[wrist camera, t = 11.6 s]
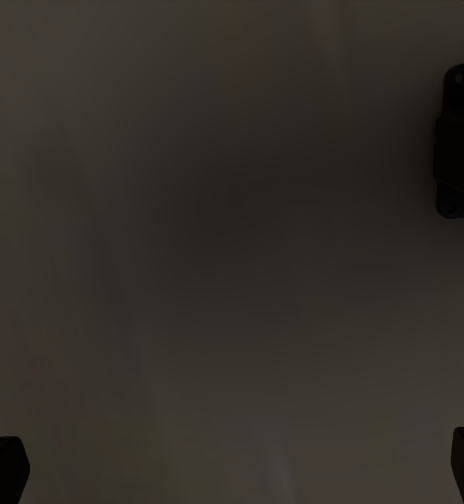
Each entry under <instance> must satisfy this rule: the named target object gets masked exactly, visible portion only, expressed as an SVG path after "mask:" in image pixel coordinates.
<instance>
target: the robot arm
mask: <svg viewBox="0 0 464 504" xmlns="http://www.w3.org/2000/svg"><path fill="white" fill-rule="evenodd" d="M459 71H461V72H462V73H463V74H464V64H459V65H456V66H453V67H452V68H450V69H449V71H448V72H447V74H446V77H445V86H444V101H443V114H442V115H441V116H440V117H439V118H438V119H437V120H436V132H435V148H434V164H433V177H434V178H435V179H436V180H437V181H438V191H437V206H436V207H437V212H438V213H439V214H440V215H441V216H443V217H445V218H448V219H454V218H464V79H463V81H462V82H461V83H457V82H456V80H455V77H456V74H457V73H458V72H459ZM449 203H453V205H454V206H453V209H451V210H450V211H446V209H445V208H446V206H447V205H448V204H449ZM451 467H452V471H453V474H454V477H455V480H456V483H457V486H458V489H459V491H460V494H461V497H462V500H463V503H464V427H457V428H455V430H454V433H453V441H452V451H451ZM29 473H30V464H29V460H28V458H27V455H26V452H25V449H24V446H23V443H22V441H21V439H20V438H19V437H17V436H3V437H0V504H18V503H19V500H20V498H21V495H22V493H23V490H24V488H25V485H26V483H27V480H28V477H29Z"/></svg>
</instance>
